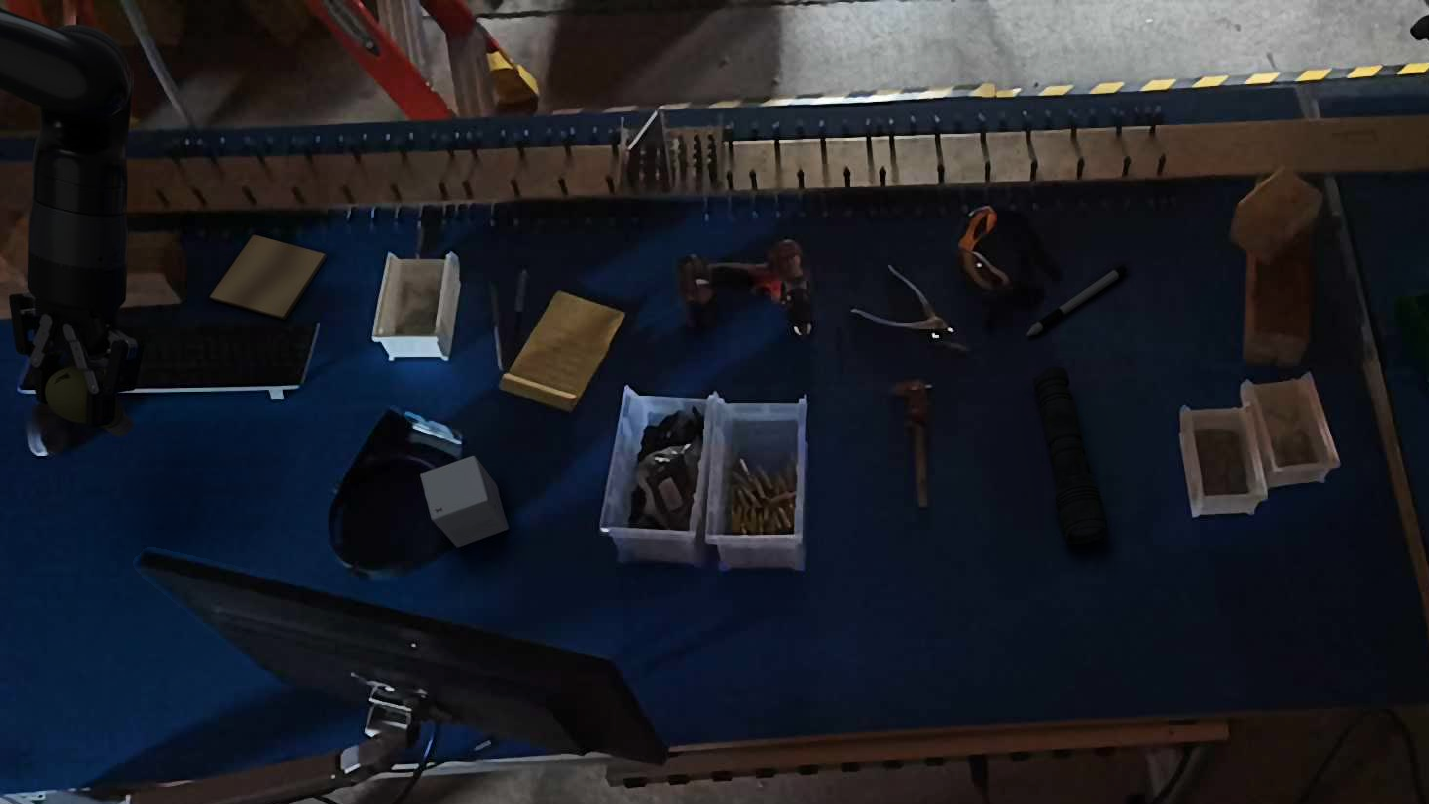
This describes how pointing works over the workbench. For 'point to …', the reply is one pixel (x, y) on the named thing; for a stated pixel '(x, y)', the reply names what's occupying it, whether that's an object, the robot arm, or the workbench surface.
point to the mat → (268, 277)
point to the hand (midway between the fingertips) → (74, 412)
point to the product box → (464, 501)
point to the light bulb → (80, 400)
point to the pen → (1077, 300)
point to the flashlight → (1069, 461)
